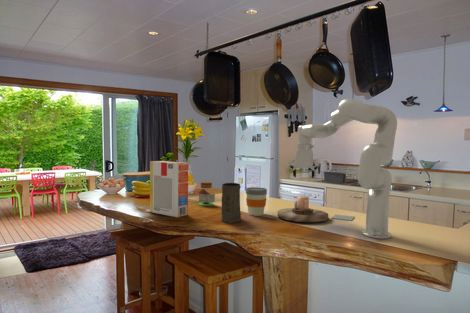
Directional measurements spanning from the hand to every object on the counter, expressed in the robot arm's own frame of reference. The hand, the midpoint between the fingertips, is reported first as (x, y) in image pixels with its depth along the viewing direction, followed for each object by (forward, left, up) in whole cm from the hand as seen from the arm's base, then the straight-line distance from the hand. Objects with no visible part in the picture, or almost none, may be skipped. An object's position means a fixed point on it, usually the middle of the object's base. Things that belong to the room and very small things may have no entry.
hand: (303, 177), depth 189 cm
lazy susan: (0, 0, -23) cm, 23 cm away
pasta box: (-30, +71, -23) cm, 81 cm away
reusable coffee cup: (-4, +27, -23) cm, 36 cm away
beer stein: (-25, +32, -23) cm, 47 cm away
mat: (+13, -20, -23) cm, 33 cm away
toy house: (+5, +68, -23) cm, 72 cm away
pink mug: (-1, -1, -20) cm, 20 cm away
